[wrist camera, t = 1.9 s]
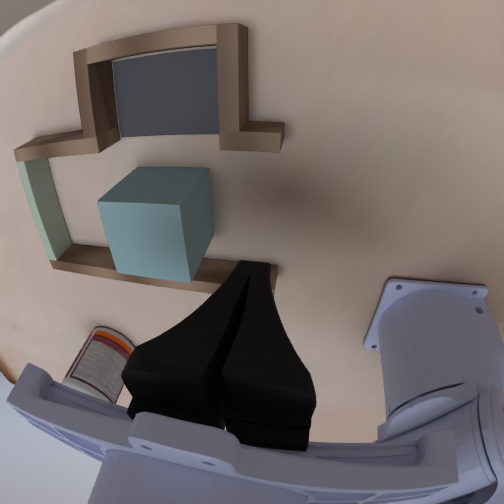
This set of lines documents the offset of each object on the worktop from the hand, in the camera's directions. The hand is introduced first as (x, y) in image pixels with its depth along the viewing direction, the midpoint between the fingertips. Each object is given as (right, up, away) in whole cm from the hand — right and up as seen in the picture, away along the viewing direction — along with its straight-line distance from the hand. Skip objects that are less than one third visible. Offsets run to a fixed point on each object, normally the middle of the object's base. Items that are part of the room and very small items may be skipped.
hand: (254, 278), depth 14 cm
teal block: (-5, +5, +6) cm, 9 cm away
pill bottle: (-16, -9, +19) cm, 26 cm away
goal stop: (-17, +6, +8) cm, 19 cm away
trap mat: (-5, +10, +2) cm, 12 cm away
